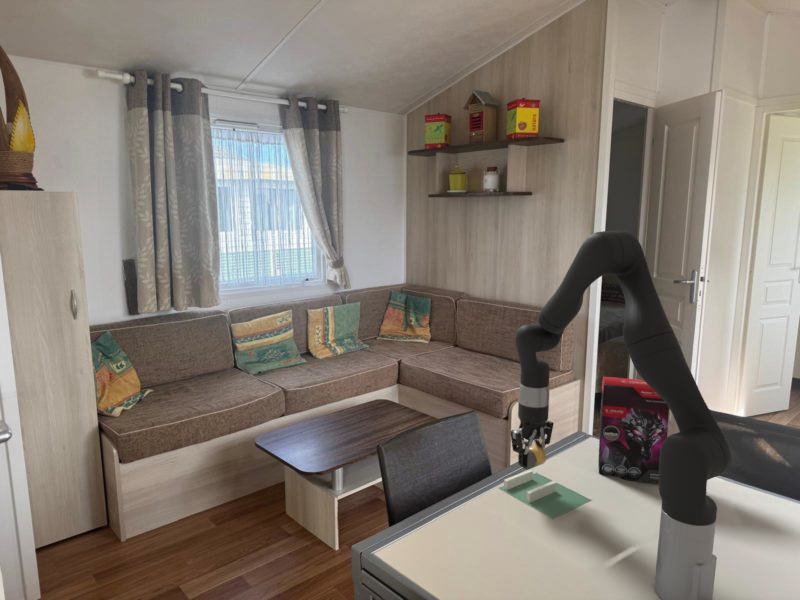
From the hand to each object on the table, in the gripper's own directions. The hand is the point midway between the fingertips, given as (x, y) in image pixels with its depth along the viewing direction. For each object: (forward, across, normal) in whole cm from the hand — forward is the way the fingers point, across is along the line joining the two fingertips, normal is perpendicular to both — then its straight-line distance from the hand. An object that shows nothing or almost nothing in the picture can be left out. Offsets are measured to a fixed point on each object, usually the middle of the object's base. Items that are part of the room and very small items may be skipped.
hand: (530, 463), depth 146 cm
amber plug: (+1, 0, 0) cm, 1 cm away
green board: (+8, +2, -4) cm, 9 cm away
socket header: (+8, 0, 0) cm, 8 cm away
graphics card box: (+9, +30, -10) cm, 33 cm away
